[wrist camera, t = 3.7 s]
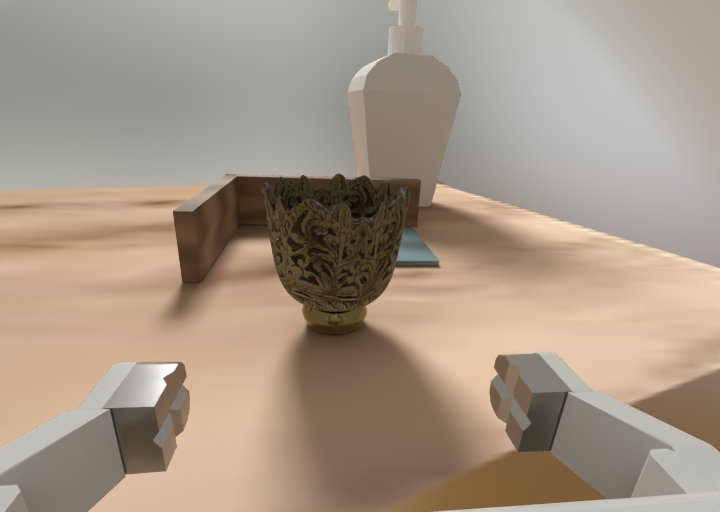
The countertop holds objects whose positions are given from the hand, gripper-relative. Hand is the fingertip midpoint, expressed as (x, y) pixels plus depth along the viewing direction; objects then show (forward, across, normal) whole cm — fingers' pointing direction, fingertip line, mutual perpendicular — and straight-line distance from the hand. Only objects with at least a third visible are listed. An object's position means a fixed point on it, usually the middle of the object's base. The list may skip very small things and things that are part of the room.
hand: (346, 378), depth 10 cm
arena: (+25, 0, +5) cm, 25 cm away
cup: (+11, 0, +5) cm, 12 cm away
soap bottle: (+45, -10, +5) cm, 46 cm away
